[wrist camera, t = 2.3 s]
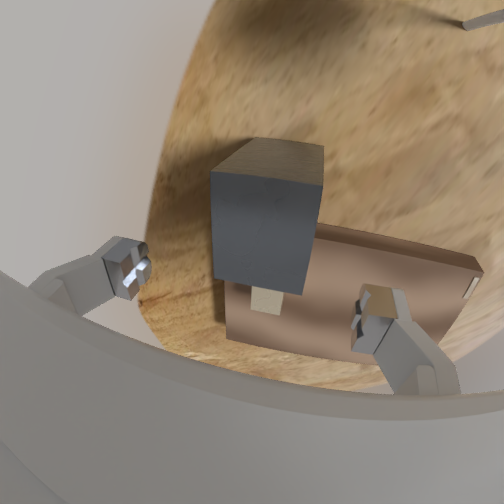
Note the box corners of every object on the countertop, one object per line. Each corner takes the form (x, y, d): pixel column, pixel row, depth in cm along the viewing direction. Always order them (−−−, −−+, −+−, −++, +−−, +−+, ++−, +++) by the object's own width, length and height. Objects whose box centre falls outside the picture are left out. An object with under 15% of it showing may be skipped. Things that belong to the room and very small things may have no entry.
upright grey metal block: (255, 137, 15) (210, 170, 9) (323, 146, 14) (323, 185, 9) (249, 275, 21) (219, 347, 15) (300, 285, 20) (285, 362, 15)
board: (232, 209, 19) (222, 223, 17) (474, 256, 15) (484, 273, 14) (232, 323, 26) (226, 339, 24) (415, 352, 22) (418, 369, 21)
